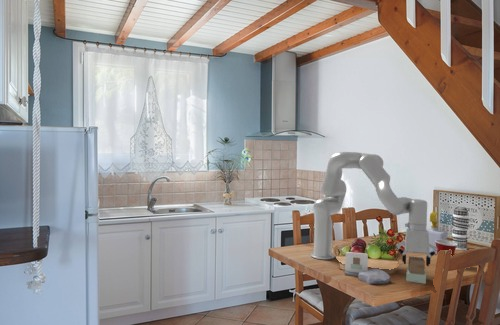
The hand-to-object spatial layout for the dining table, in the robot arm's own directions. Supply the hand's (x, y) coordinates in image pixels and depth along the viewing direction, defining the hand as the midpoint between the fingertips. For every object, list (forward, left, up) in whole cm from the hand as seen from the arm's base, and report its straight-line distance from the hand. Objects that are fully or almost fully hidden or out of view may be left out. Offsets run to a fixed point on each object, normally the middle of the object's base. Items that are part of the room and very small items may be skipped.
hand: (415, 264), depth 178 cm
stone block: (+8, -18, -7) cm, 21 cm away
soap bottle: (-55, +16, -7) cm, 58 cm away
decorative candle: (-72, +33, -7) cm, 80 cm away
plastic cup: (-31, +18, -7) cm, 37 cm away
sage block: (0, 0, -7) cm, 7 cm away
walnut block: (0, 0, -3) cm, 3 cm away
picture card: (+2, -26, -7) cm, 27 cm away
